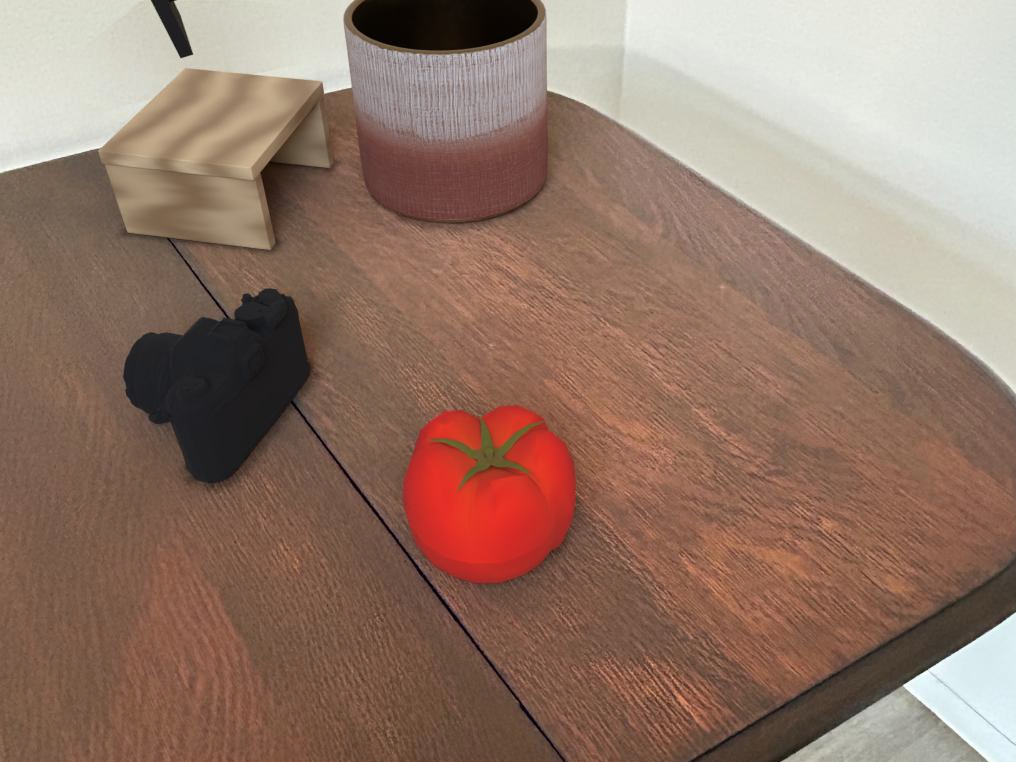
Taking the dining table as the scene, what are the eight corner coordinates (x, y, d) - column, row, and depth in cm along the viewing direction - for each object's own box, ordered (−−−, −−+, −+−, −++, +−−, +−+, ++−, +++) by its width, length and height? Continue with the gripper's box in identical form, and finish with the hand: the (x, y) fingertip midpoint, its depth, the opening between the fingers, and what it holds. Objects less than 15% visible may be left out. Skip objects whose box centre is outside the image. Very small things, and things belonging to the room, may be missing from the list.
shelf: (125, 234, 93) (97, 150, 87) (205, 147, 104) (185, 67, 98) (269, 252, 91) (250, 167, 85) (335, 161, 102) (322, 80, 96)
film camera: (218, 343, 82) (190, 243, 76) (326, 367, 80) (306, 267, 73) (104, 465, 73) (60, 364, 66) (223, 497, 70) (190, 395, 64)
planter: (379, 137, 106) (358, -28, 94) (550, 140, 105) (551, -26, 94) (350, 229, 94) (323, 52, 82) (544, 232, 93) (544, 56, 82)
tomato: (394, 601, 64) (377, 500, 57) (433, 470, 72) (422, 367, 65) (562, 619, 63) (565, 518, 56) (583, 484, 71) (588, 382, 64)
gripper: (-543, -129, 35) (-143, 196, 56) (163, -321, 37) (295, 63, 58) (-573, -299, 36) (-171, 80, 57) (109, -476, 38) (258, -47, 59)
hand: (63, 72), depth 57 cm, fingers open, 13 cm apart
